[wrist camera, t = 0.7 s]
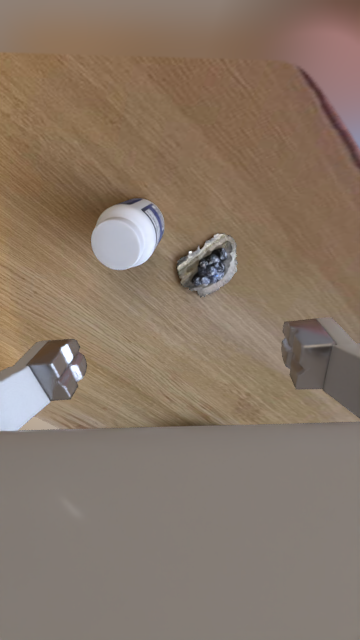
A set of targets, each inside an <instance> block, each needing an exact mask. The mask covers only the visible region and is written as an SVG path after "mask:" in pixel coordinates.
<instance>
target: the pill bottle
mask: <svg viewBox="0 0 360 640" xmlns="http://www.w3.org/2000/svg"><path fill="white" fill-rule="evenodd" d="M163 233H164V219H163V216H162V214H161V212H160V210H159V209H158V207H157V206H156V205H155V204H153V203H152V202H150V201H148V200H146V199H142V198H134V199H130V200H127V201H125V202H122V203H119V204H116V205H114V206H111V207H110V208H108V209H106V210H105V211H104V212H103V213H102V214H101V215H100V217H99V219H98V221H97V224H96V227H95V228H94V230H93V233H92V236H91V246H92V249H93V252H94V254H95V256H96V257H97V259H98V260H99V261H100V262H101V263H102V264H103V265H105V266H107V267H108V268H111V269H114V270H125V269H128V268H130V267H135V266H139V265H141V264H143V263H144V262H145V261H147V260H148V259H149V257H150V256H151V255H152V253H153V251H154V250H155V248H156V246H157V245H158V243H159V241H160V240H161V238H162V236H163Z"/></svg>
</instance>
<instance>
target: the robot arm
mask: <svg viewBox="0 0 360 640" xmlns="http://www.w3.org/2000/svg"><path fill="white" fill-rule="evenodd" d="M283 333H284V335H285V339H284V340H283V341H282V347H281V350H282V357H283V361H284V364H285V366H286V367H288V368H289V369H290V377H291V379H292V382H293V384H294V386H295V388H296V389H323V391H325V392H326V393H327V394H329V395H330V396H331V397H333V398H334V399H335V400H336V401H338V402H339V403H340V404H342V405H343V406H344V407H346V408H347V409H348V410H349V411H351V412H352V413H353V414H355V415H356V416H357V417H359V418H360V343H359V344H356V343H355V342H354V341H353V340H352V339H351V337H350V336H349V335H348V334H347V333H346V332H345V331H344V330H343V329H342V328H341V327H340V326H339V325H338V323H337V322H336V321H335V320H334V319H333V318H331V317H324V318H316V319H307V320H298V321H288V322H284V325H283ZM79 349H80V346H79V344H78V342H77V340H74V339H63V340H47V341H39V342H36V343H35V344H34V345H33V346H32V347H31V348H30V349H29V350H28V351H27V352H26V353H25V354H24V355H23V356H22V357H21V358H20V359H19V360H18V362H17V363H16V364H15V365H14V366H13V367H8V368H6V369H4V370H2V371H0V640H360V422H333V423H297V424H258V425H216V426H174V427H135V428H97V429H58V430H22V431H21V430H19V431H17V430H18V429H20V428H21V427H22V426H23V425H24V424H25V423H27V422H28V421H29V420H30V419H31V418H32V417H34V416H35V415H36V414H37V413H38V412H39V411H40V410H42V409H43V408H44V407H45V406H46V405H47V404H49V403H50V401H54V400H68V399H71V398H72V396H73V394H74V393H75V391H76V389H77V387H78V384H77V382H78V381H80V380H81V379H82V378H83V377H84V375H85V373H86V369H87V363H86V359H85V357H84V355H83V354H81V353H80V352H79Z"/></svg>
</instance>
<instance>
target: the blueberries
mask: <svg viewBox="0 0 360 640" xmlns="http://www.w3.org/2000/svg"><path fill="white" fill-rule="evenodd" d="M211 239H212V240H208V242H207V241H206V243H205V245H204V247H203V248H202V249H201V250H200V249H199V246H198V250H197V251H196V252H193V253H192V251H189V254H190V255H188V256H187V255H186V257H185V256H184V257H183V258H182V257H181V258H180V260H178V264H177V267H176V268H177V270H178V274H179V276H180V277H179V278H180V279H181V278H182V280H181V282H180V283H181V285H183V286H184V287H189V290H191V291H193V290H194V291H195V290H197V292H198V295H200V298H201V297H202V296H204V297H205V296H206V294H210V293H213V292H215V291H216V290H219V287H221V286H224V284H225V283H227V282H229V281H230V280H231V278H232V276H233V275H234V273H235V272H237V268H236V265H237V263H238V262H237V260H235V258H236V256H237V255H236V254H235V253H236V247H237V246H236V243H235V241H234V239H233V238H232V237H231V236H229V235H228V236H227V235H226V234H220V235H219V234H216V235H214V239H213V238H211Z"/></svg>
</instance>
